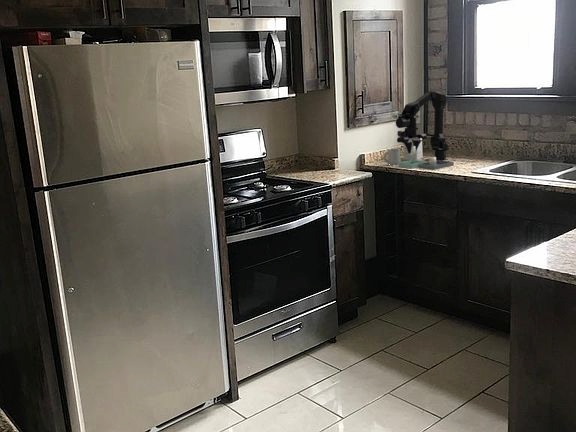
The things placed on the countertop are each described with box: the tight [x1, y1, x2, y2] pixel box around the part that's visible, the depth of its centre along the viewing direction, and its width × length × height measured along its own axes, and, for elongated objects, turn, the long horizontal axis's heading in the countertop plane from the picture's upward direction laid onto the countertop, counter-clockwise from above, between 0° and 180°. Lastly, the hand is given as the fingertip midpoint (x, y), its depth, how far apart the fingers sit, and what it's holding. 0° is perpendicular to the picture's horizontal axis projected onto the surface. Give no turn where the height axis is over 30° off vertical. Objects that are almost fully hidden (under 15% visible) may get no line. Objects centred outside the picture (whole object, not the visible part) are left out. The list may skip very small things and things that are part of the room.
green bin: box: [398, 159, 427, 169], centre depth 368 cm, size 11×11×3 cm
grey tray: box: [418, 160, 454, 171], centre depth 362 cm, size 16×12×2 cm
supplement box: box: [403, 138, 424, 161], centre depth 393 cm, size 9×9×15 cm
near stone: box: [409, 146, 416, 155], centre depth 366 cm, size 4×4×5 cm
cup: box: [383, 148, 401, 166], centre depth 379 cm, size 7×10×9 cm
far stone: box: [428, 156, 436, 166], centre depth 363 cm, size 4×4×5 cm
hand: (412, 152), depth 367 cm, fingers closed on near stone, 4 cm apart
